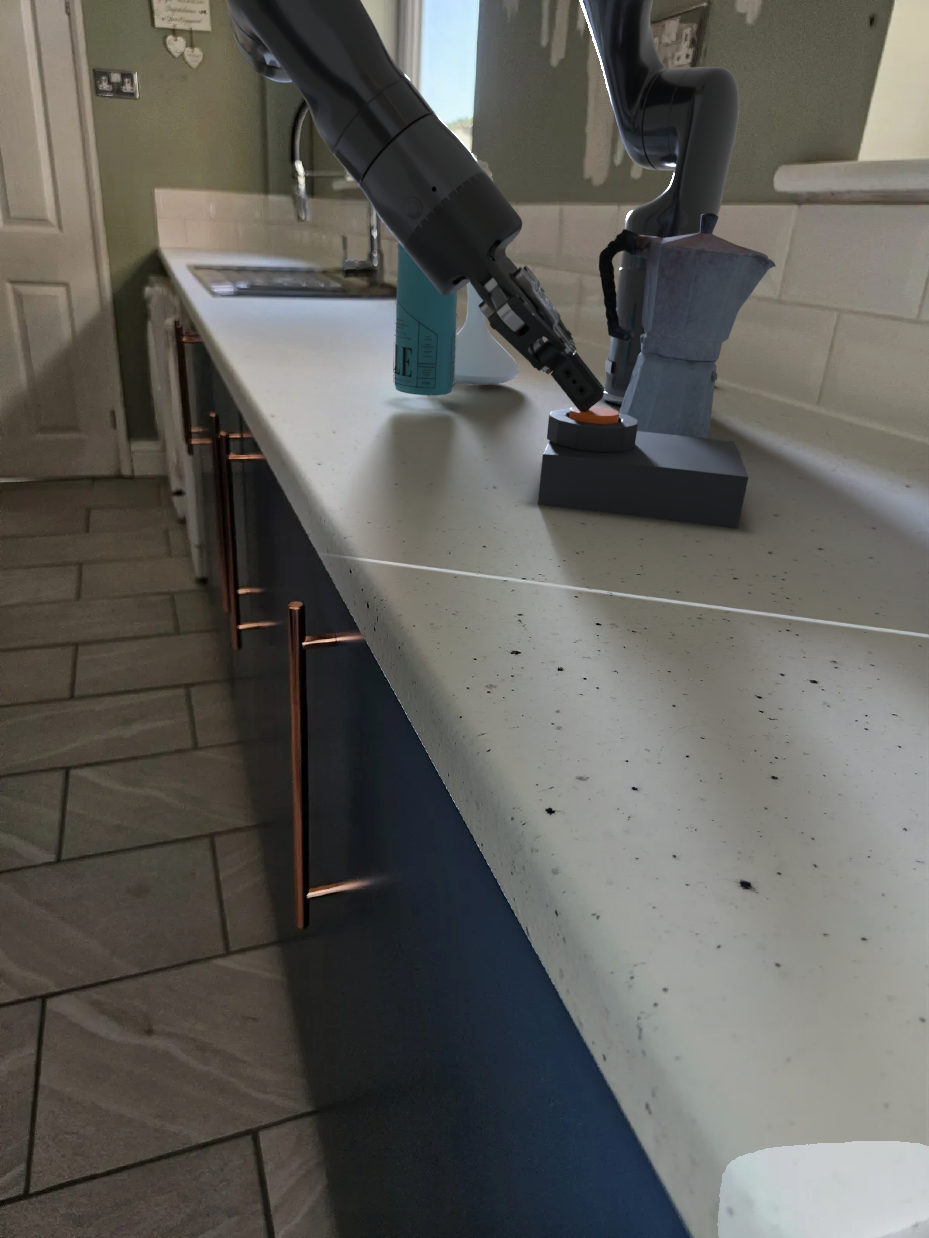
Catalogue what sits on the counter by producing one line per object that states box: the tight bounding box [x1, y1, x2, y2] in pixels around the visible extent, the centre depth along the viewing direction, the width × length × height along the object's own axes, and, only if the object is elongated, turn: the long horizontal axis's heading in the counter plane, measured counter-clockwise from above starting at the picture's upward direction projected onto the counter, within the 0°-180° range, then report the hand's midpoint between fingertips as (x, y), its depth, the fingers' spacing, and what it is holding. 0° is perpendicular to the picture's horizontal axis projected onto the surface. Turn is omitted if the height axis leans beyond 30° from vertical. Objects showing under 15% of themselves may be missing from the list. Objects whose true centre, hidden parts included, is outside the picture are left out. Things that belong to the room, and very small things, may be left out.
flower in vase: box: [453, 152, 520, 386], centre depth 101 cm, size 13×11×25 cm
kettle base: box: [537, 407, 749, 529], centre depth 65 cm, size 14×11×6 cm
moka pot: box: [598, 213, 777, 439], centre depth 80 cm, size 10×15×20 cm, turn 78°
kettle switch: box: [569, 405, 620, 424], centre depth 65 cm, size 4×4×2 cm
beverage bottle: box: [392, 242, 459, 397], centre depth 88 cm, size 6×7×20 cm
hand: (594, 402), depth 64 cm, fingers closed
